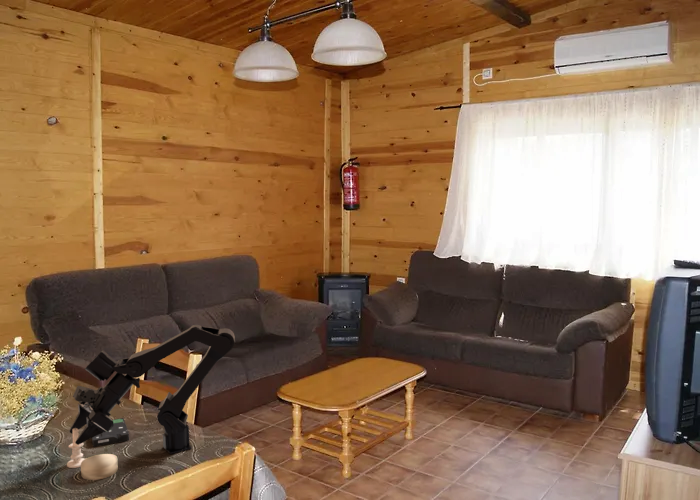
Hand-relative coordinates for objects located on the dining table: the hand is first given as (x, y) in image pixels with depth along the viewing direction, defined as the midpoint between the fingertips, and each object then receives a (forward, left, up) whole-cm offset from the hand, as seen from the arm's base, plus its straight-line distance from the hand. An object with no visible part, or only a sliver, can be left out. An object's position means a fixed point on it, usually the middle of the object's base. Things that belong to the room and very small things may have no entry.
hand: (73, 438), depth 167 cm
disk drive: (-13, -16, -8) cm, 22 cm away
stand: (-5, +9, -7) cm, 13 cm away
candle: (-1, 0, -8) cm, 8 cm away
